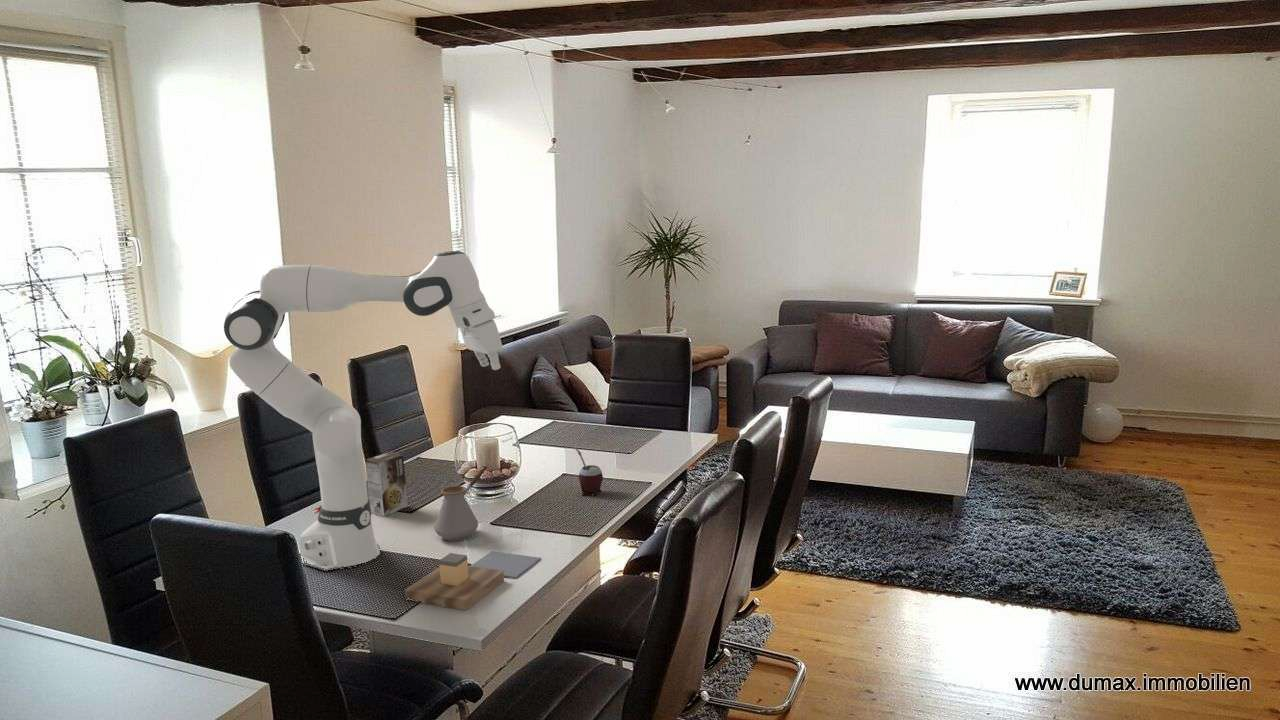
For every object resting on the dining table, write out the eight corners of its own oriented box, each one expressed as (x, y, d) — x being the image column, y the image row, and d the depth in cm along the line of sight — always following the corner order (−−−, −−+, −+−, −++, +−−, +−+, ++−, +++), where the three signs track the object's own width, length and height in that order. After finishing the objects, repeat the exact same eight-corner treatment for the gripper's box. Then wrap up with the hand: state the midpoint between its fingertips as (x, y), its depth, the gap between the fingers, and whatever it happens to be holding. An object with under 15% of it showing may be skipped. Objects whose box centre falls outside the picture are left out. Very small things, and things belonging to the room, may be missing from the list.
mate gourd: (607, 494, 274) (605, 445, 272) (584, 499, 270) (581, 450, 268) (595, 487, 281) (593, 440, 278) (572, 493, 277) (569, 444, 274)
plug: (441, 593, 211) (439, 560, 210) (453, 585, 215) (450, 552, 214) (458, 596, 210) (455, 562, 208) (469, 588, 214) (467, 555, 212)
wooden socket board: (405, 600, 208) (404, 589, 208) (446, 572, 223) (445, 562, 222) (465, 610, 202) (464, 599, 202) (504, 581, 216) (503, 570, 216)
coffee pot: (461, 546, 239) (456, 491, 236) (425, 540, 244) (421, 485, 241) (508, 518, 257) (505, 467, 254) (475, 513, 262) (471, 462, 260)
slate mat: (465, 571, 223) (465, 569, 223) (492, 552, 234) (492, 550, 234) (515, 578, 217) (515, 577, 217) (540, 559, 228) (540, 557, 228)
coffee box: (394, 503, 274) (389, 450, 270) (409, 507, 270) (404, 453, 267) (369, 513, 266) (364, 459, 263) (384, 516, 263) (378, 462, 260)
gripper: (448, 317, 232) (467, 368, 235) (471, 321, 214) (491, 376, 217) (471, 308, 234) (490, 359, 238) (495, 311, 216) (515, 365, 219)
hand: (491, 367), depth 227 cm, fingers open, 8 cm apart
